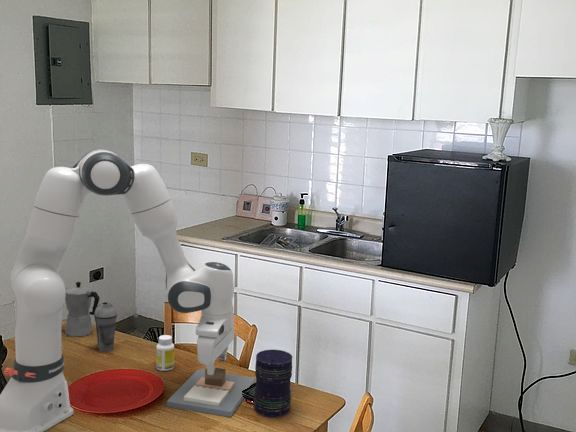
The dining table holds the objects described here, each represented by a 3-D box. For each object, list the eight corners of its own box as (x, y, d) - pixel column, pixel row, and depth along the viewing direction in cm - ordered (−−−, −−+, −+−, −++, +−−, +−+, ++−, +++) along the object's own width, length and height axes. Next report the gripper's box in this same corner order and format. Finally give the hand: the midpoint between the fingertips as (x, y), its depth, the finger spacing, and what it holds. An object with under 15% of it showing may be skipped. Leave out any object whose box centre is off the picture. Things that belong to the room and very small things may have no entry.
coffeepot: (54, 332, 220) (53, 282, 217) (73, 324, 229) (73, 275, 226) (89, 341, 214) (89, 289, 211) (108, 332, 223) (108, 282, 220)
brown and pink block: (228, 392, 178) (229, 375, 177) (195, 387, 180) (195, 370, 179) (234, 385, 183) (235, 368, 182) (201, 380, 185) (202, 364, 184)
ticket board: (230, 417, 168) (230, 407, 167) (166, 406, 172) (166, 397, 171) (255, 382, 189) (255, 374, 188) (197, 374, 193) (197, 365, 192)
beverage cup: (93, 345, 211) (93, 286, 207) (116, 344, 213) (116, 285, 209) (94, 354, 204) (93, 293, 200) (118, 352, 206) (117, 292, 203)
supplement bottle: (176, 364, 199) (176, 334, 197) (171, 372, 193) (171, 341, 192) (159, 363, 199) (159, 333, 197) (153, 370, 194) (154, 339, 192)
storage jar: (256, 398, 179) (258, 347, 176) (292, 402, 178) (294, 351, 175) (250, 416, 169) (252, 362, 166) (288, 419, 168) (290, 365, 165)
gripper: (219, 307, 189) (218, 351, 191) (193, 331, 169) (192, 380, 172) (239, 309, 187) (239, 354, 190) (215, 334, 168) (215, 383, 170)
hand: (217, 367), depth 181 cm, fingers open, 8 cm apart
